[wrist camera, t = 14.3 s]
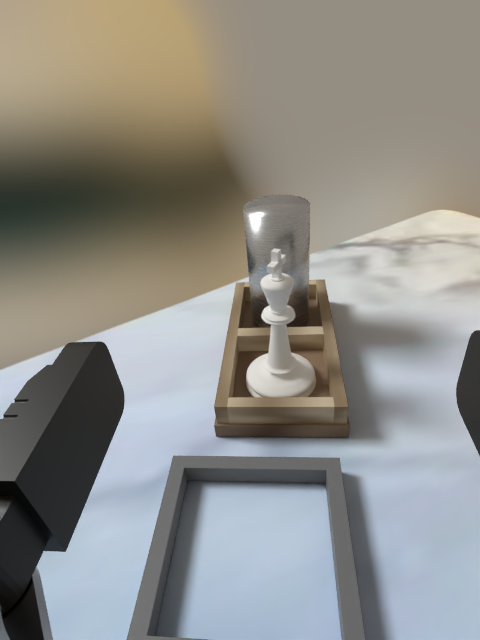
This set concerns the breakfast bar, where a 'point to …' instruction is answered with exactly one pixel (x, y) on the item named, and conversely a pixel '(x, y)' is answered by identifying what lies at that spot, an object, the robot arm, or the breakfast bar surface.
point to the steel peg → (280, 233)
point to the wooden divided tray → (281, 412)
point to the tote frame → (250, 471)
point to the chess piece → (279, 342)
